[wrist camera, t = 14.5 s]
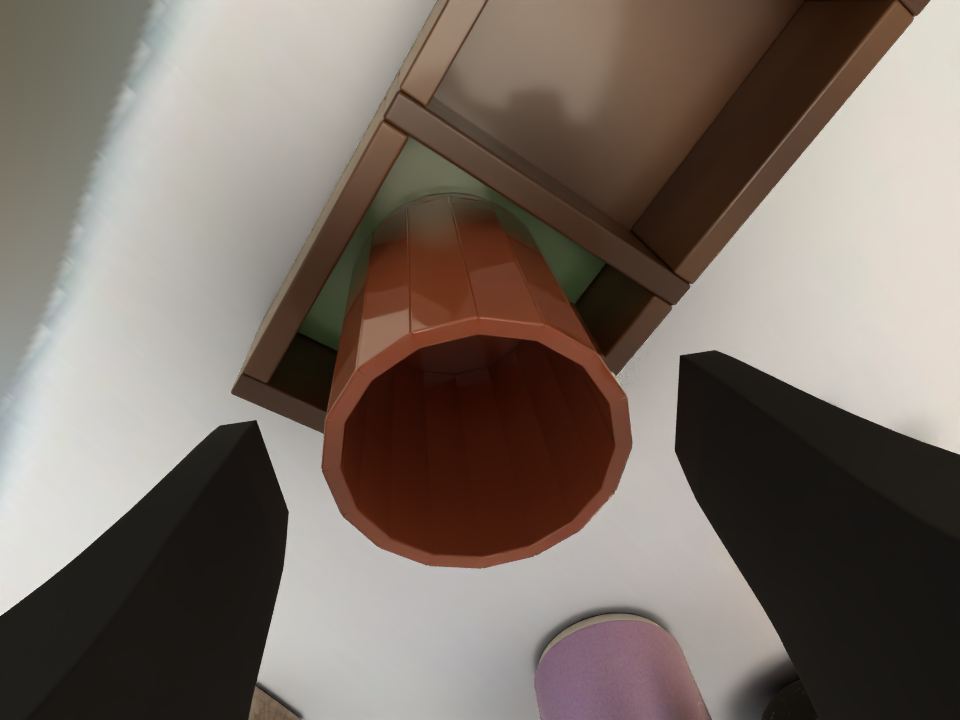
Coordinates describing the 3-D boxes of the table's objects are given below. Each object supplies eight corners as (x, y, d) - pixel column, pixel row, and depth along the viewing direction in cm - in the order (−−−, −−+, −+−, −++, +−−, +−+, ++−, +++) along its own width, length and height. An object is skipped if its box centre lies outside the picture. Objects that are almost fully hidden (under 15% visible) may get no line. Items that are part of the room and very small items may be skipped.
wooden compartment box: (487, 433, 20) (503, 512, 17) (260, 324, 17) (229, 394, 14) (830, -10, 14) (943, -14, 11) (579, -261, 12) (641, -353, 9)
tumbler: (523, 381, 18) (586, 574, 12) (345, 363, 17) (313, 561, 11) (567, 209, 16) (672, 340, 10) (362, 177, 15) (335, 298, 9)
